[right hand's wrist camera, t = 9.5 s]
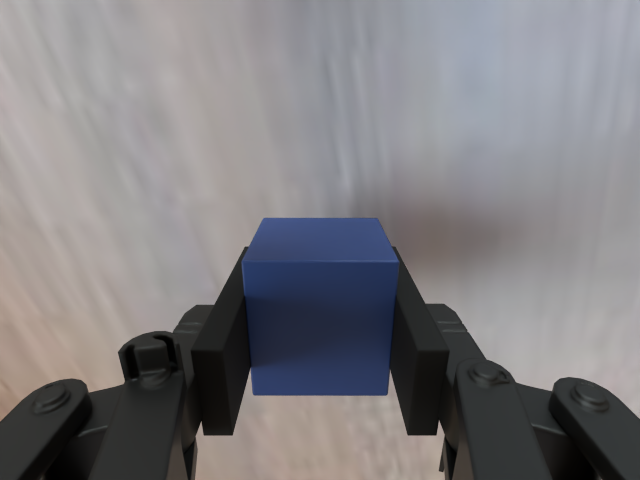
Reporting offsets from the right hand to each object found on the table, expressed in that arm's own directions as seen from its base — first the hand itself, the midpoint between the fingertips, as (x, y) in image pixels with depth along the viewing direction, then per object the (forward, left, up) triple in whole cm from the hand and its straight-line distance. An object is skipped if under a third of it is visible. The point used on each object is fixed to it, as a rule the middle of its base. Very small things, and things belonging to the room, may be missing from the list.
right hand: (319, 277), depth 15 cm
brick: (0, 0, 0) cm, 0 cm away
